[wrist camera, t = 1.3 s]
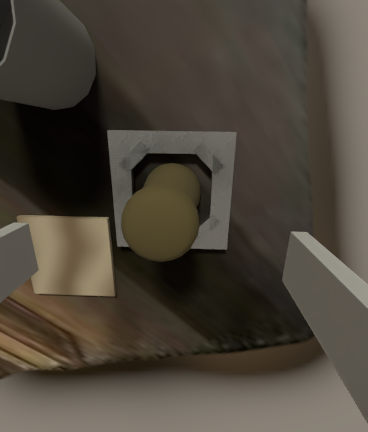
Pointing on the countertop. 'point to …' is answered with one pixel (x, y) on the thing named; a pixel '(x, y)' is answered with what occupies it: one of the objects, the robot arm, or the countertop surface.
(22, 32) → the cup
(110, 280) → the coaster
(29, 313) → the countertop surface
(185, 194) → the pepper shaker
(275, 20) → the countertop surface
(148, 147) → the plate
